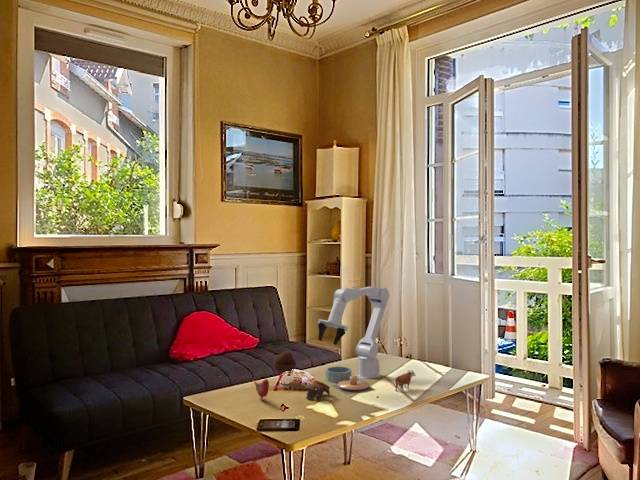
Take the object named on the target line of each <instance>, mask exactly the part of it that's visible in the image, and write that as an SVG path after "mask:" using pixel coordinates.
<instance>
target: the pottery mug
mask: <svg viewBox="0 0 640 480" xmlns="http://www.w3.org/2000/svg"><path fill="white" fill-rule="evenodd" d="M330 388H331V387H330V386H329V385H328V384H326V383H324V382H321V381H319V380H314V381H313V382H312V383H311V384H310V385H309V387H308V390H307V393H306V397H305V398H306V399H308V400H310V401H315V399H316V400H321V399H322V396H323V394H324V393H326V394H327V397H328V398H329V397H330V395H331V392H330Z"/></svg>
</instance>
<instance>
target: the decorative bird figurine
mask: <svg viewBox="0 0 640 480" xmlns="http://www.w3.org/2000/svg"><path fill="white" fill-rule="evenodd" d="M252 381H253V383H254V385H255V390H256V392H257V395H259V397H260V400H261V401H262V402H265V400H264V398H265V397H267V396H268V393H269V389H270V388H269V387H270V381H269V380H268V379H263V380H262V382H256V380H254V379H252Z"/></svg>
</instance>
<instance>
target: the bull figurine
mask: <svg viewBox="0 0 640 480" xmlns="http://www.w3.org/2000/svg"><path fill="white" fill-rule="evenodd" d="M413 377H416V373H415V371H414V370H413V369H410V370H409V369H408V370H406V371H405V372H403V373H402V374H400V375H398V376H397V377H395V379H394V381H395V386H394V387H395V392H398V387H399V390H400V391H401V392H405V389H404V388H406V389H407V390H409V389H410V387H409V386H410V384H411V380H412V379H411V378H413Z"/></svg>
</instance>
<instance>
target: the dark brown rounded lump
mask: <svg viewBox="0 0 640 480" xmlns="http://www.w3.org/2000/svg"><path fill="white" fill-rule="evenodd" d="M272 366H273V369H274V370H275V371H276V372H277V373H279V374H280V375H282V373H283V372H285V371H291V370H292V369H293V371H294V370H295V368H296V367H297V361H296V360H295V358H294V357H293V354H292V352H291V351H288V350H286V351H285V350H284V351H282V353H279V354H278V355H277V356H276V357H275V358H274V361H273V363H272Z"/></svg>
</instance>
